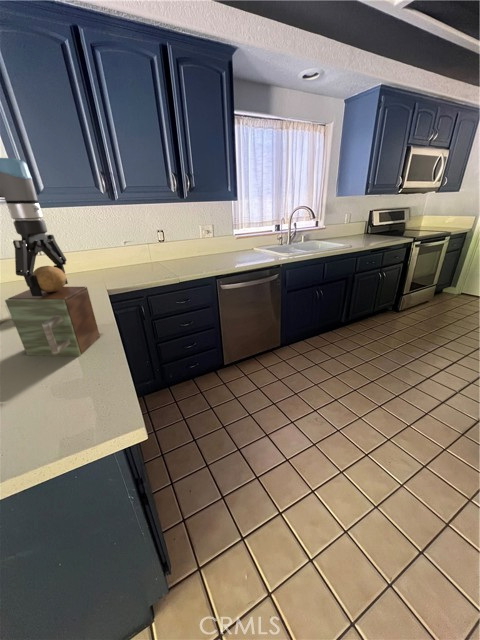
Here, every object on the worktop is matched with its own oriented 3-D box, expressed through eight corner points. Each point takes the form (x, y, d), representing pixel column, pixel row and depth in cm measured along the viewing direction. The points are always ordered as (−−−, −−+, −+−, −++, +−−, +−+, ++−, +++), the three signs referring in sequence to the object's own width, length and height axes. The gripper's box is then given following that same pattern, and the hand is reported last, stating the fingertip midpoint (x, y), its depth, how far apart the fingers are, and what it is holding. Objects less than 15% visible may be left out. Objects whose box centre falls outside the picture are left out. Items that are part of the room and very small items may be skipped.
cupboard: (81, 354, 89) (65, 298, 81) (30, 353, 90) (7, 298, 81) (100, 337, 100) (86, 286, 91) (53, 336, 101) (36, 286, 92)
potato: (64, 283, 95) (58, 261, 92) (73, 292, 86) (66, 268, 82) (31, 288, 89) (23, 265, 86) (37, 299, 80) (28, 274, 76)
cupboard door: (66, 368, 82) (46, 309, 73) (10, 367, 82) (-17, 309, 74) (81, 354, 89) (64, 299, 80) (29, 353, 89) (7, 299, 81)
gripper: (6, 223, 67) (35, 302, 76) (66, 216, 89) (83, 279, 98) (-22, 223, 67) (10, 302, 76) (44, 216, 89) (63, 279, 98)
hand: (51, 289), depth 87 cm, fingers closed on potato, 12 cm apart
